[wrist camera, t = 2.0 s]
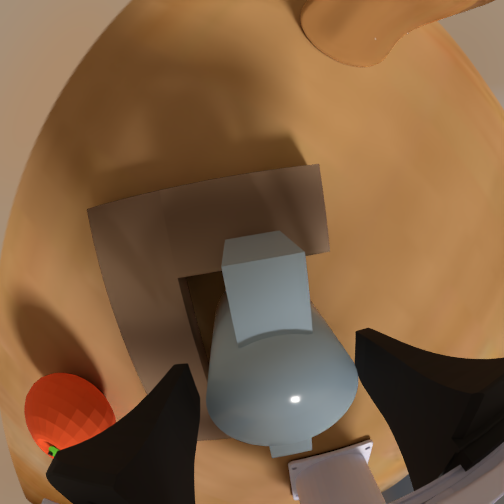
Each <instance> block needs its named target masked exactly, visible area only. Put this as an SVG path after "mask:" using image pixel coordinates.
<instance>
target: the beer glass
mask: <svg viewBox="0 0 504 504" xmlns="http://www.w3.org/2000/svg"><path fill="white" fill-rule="evenodd" d="M493 1H495V0H307V1H306V2H305V4H304V5H303V7H302V9H301V12H300V23H301V26H302V29H303V31H304V33H305V35H306V36H307V38H308V39H309V40H310V41H311V42H312V43H313V45H314V46H316V47H317V48H318V49H319V50H320V51H322V52H323V53H324V54H326V55H327V56H329V57H331V58H333V59H334V60H337V61H339V62H341V63H344V64H347V65H351V66H356V67H370V66H374V65H376V64H379V63H381V62H382V61H383V60H384V59H385V58H386V57H387V56H388V54H389V53H390V51H391V50H392V48H393V47H394V45H395V44H396V43H397V42H398V41H399V40H400V39H401V38H402V37H403V36H404V35H406V34H407V33H408V34H409V32H411V31H412V30H414V29H417V28H419V27H421V26H424V25H426V24H429V23H432V22H435V21H438V20H441V19H444V18H447V17H450V16H453V15H457V14H460V13H463V12H466V11H468V10H471V9H474V8H477V7H480V6H483V5H486V4H488V3H490V2H493Z"/></svg>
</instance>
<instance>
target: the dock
mask: <svg viewBox="0 0 504 504" xmlns="http://www.w3.org/2000/svg"><path fill="white" fill-rule="evenodd" d="M87 212H88V217H89V223H90V227H91V232H92V237H93V241H94V246H95V250H96V254H97V258H98V262H99V266H100V269H101V273H102V277H103V280H104V284H105V287H106V290H107V294H108V297H109V300H110V303H111V306H112V309H113V312H114V315H115V318H116V321H117V324H118V326H119V329H120V332H121V335H122V337H123V340H124V342H125V345H126V348H127V350H128V353H129V355H130V357H131V360H132V362H133V365H134V367H135V369H136V371H137V374H138V376H139V378H140V380H141V383H142V385H143V387H144V389H145V391H146V393H147V395H148V394H149V393H150V392H151V391H152V390H153V388H154V387H155V386H156V385H157V384H158V383H159V382H160V380H161V379H162V378H163V377H164V376H165V375H166V373H167V372H168V371H169V370H170V369H171V367H172V366H173V365H174V364H184V363H188V365H189V368H190V371H191V374H192V376H193V379H194V382H195V385H196V387H197V390H198V393H199V396H200V423H199V430H198V437H197V441H201V440H216V439H227V438H232V437H230V436H229V435H227V434H226V433H224V432H223V431H221V430H220V429H219V428H218V427H217V426H216V425H215V423H214V422H213V421H212V419H211V417H210V415H209V413H208V410H207V406H206V393H207V383H208V373H209V362H208V359H207V356H206V352H205V349H204V345H203V342H202V338H201V335H200V331H199V327H198V324H197V320H196V316H195V312H194V308H193V304H192V301H191V296H190V292H189V288H188V284H187V280H186V277H187V276H193V275H199V274H205V273H211V272H217V271H222V268H221V265H222V258H223V251H224V244H225V240H226V239H232V238H238V237H243V236H249V235H255V234H261V233H267V232H273V231H279V230H280V231H281V232H282V233H283V234H284V235H285V236H287V237H288V238H289V239H290V240H291V241H293V242H294V243H295V244H296V245H297V246H298V247H300V248H301V249H302V250H303V251H304V252H305V256H308V255H313V254H319V253H324V252H330V247H329V237H328V228H327V219H326V211H325V203H324V195H323V188H322V181H321V174H320V168H319V164H315V165H305V166H297V167H289V168H281V169H273V170H266V171H259V172H253V173H246V174H240V175H234V176H228V177H222V178H217V179H211V180H206V181H201V182H196V183H191V184H186V185H181V186H176V187H172V188H167V189H162V190H158V191H154V192H149V193H145V194H141V195H137V196H133V197H129V198H125V199H121V200H117V201H114V202H110V203H106V204H103V205H99V206H96V207H92V208H89V209H87Z"/></svg>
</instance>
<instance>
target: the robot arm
mask: <svg viewBox="0 0 504 504" xmlns="http://www.w3.org/2000/svg"><path fill="white" fill-rule="evenodd" d="M355 367H356V369H357V373H358V376H359V378H360V381H361V383H362V385H363V386H364V388H365V389H366V391H367V392H368V394H369V396H370V397H371V399H372V400H373V402H374V403H375V405H376V406H377V408H378V409H379V411H380V412H381V414H382V415H383V417H384V418H385V420H386V421H387V423H388V425H389V427H390V429H391V431H392V433H393V435H394V437H395V440H396V442H397V444H398V446H399V449H400V451H401V454H402V456H403V459H404V461H405V464H406V467H407V470H408V472H409V476H410V479H411V482H412V485H413V488H414V492H412V493H410V494H408V495H406V496H404V497H401V498H399V499H397V500H395V501H393V502H390V503H388V504H494V503H495V502H496V501H497V500H498V499H499V498H500V497H501V496H503V495H504V358H497V359H465V358H457V357H450V356H445V355H440V354H436V353H432V352H428V351H425V350H422V349H419V348H416V347H413V346H411V345H408V344H405V343H403V342H401V341H398V340H396V339H394V338H391V337H389V336H387V335H385V334H382V333H380V332H378V331H375V330H373V329H370V328H366V329H362V330H359V331H356V344H355ZM199 423H200V396H199V393H198V390H197V387H196V385H195V382H194V379H193V376H192V374H191V371H190V368H189V365H188V363H184V364H174V365H173V366H172V367H171V369H170V370H169V371H168V372H167V373H166V375H165V376H164V377H163V378H162V379H161V380H160V382H159V383H158V384H157V385H156V386H155V387H154V388H153V390H152V391H151V392H150V393H149V394H148V395H147V396H146V397H145V398H144V399H143V400H142V401H141V402H140V403H139V404H138V405H137V406H136V407H135V408H134V409H133V410H132V411H130V412H129V413H128V414H127V415H126V416H124V417H123V418H122V419H121V420H119V421H118V422H116V423H115V424H113V425H112V426H110V427H109V428H107V429H106V430H104V431H103V432H101V433H99V434H97V435H95V436H94V437H92V438H90V439H88V440H85V441H83V442H81V443H79V444H76V445H74V446H71V447H68V448H65V449H62V450H59V451H57V452H56V454H55V456H54V458H53V460H52V462H51V464H50V466H49V468H48V470H47V472H46V477H47V479H48V481H49V482H50V484H51V485H52V486H53V487H54V488H55V489H56V490H58V491H59V492H60V493H61V494H62V495H63V496H64V497H66V498H67V499H68V500H69V501H70V502H72V503H73V504H195V492H194V460H195V452H196V444H197V437H198V430H199ZM372 445H373V442H372V440H366V441H363V442H361V443H358V444H355V445H352V446H348V447H345V448H342V449H339V450H335V451H332V452H328V453H324V454H321V455H317V456H313V457H308V458H304V459H300V460H295V461H291V462H289V463H288V468H289V474H290V481H291V487H292V493H293V499H294V500H299V501H300V504H386V503H385V501H384V498H383V496H382V494H381V492H380V490H379V488H378V485H377V483H376V481H375V479H374V477H373V475H372V473H371V471H370V469H369V466H368V461H369V457H370V453H371V449H372ZM42 504H58V503H56V502H53V501H51V500H48V499H46V498H44V499H43V501H42Z"/></svg>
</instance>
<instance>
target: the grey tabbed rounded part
mask: <svg viewBox="0 0 504 504" xmlns="http://www.w3.org/2000/svg"><path fill="white" fill-rule="evenodd" d="M221 268H222V273H223V278H224V283H225V288H226V291H225V292H224V293H223V295H222V296H221V298H220V300H219V302H218V304H217V308H216V312H215V320H214V329H213V337H212V346H211V355H210V364H209V373H208V383H207V393H206V406H207V410H208V413H209V415H210V417H211V419H212V421H213V422H214V423H215V425H216V426H217V427H218V428H219V429H220V430H221V431H223V432H224V433H226V434H227V435H229V436H230V437H232V438H234V439H237V440H239V441H242V442H245V443H248V444H253V445H260V446H269V447H270V451H271V456H272V458H276V457H281V456H287V455H292V454H296V453H301V452H306V451H310V450H312V437H314V436H316V435H318V434H320V433H322V432H323V431H325V430H326V429H328V428H329V427H331V426H332V425H333V424H335V423H336V422H337V421H338V420H339V419H340V418H341V417H342V416H343V415H344V414H345V413H346V411H347V410H348V409H349V407H350V405H351V404H352V402H353V400H354V398H355V395H356V392H357V388H358V373H357V369H356V367H355V364H354V362H353V361H352V359H351V358H350V356H349V355H348V353H347V352H346V350H345V349H344V347H343V346H342V345H341V343H340V342H339V340H338V339H337V337H336V336H335V334H334V333H333V331H332V330H331V329H330V327H329V326H328V324H327V323H326V321H325V320H324V319H323V317H322V316H321V314H320V313H319V311H318V310H317V309H316V307H315V306H314V304H313V303H312V301H311V300H310V295H309V285H308V275H307V266H306V257H305V252H304V251H303V250H302V249H301V248H300V247H298V246H297V245H296V244H295V243H294V242H293V241H291V240H290V239H289V238H288V237H287V236H285V235H284V234H283V233H282V232H281V231H280V230H279V231H273V232H267V233H261V234H255V235H249V236H243V237H238V238H232V239H226V240H225V244H224V251H223V258H222V265H221Z"/></svg>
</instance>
